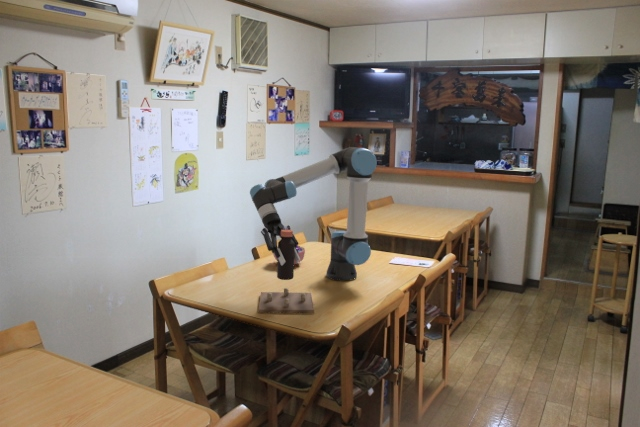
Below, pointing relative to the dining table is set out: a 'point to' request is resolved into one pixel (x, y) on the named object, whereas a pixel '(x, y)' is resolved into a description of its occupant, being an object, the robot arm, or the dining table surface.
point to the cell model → (300, 252)
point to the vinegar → (286, 256)
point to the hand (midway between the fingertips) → (290, 262)
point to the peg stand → (285, 302)
